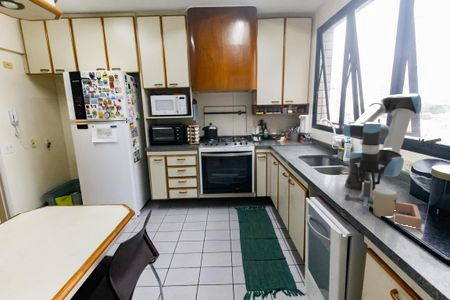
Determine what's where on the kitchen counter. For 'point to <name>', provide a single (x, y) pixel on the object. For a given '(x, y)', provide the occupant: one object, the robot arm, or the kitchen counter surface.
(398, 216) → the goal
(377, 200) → the coffee cup
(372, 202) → the rail
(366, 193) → the pusher
